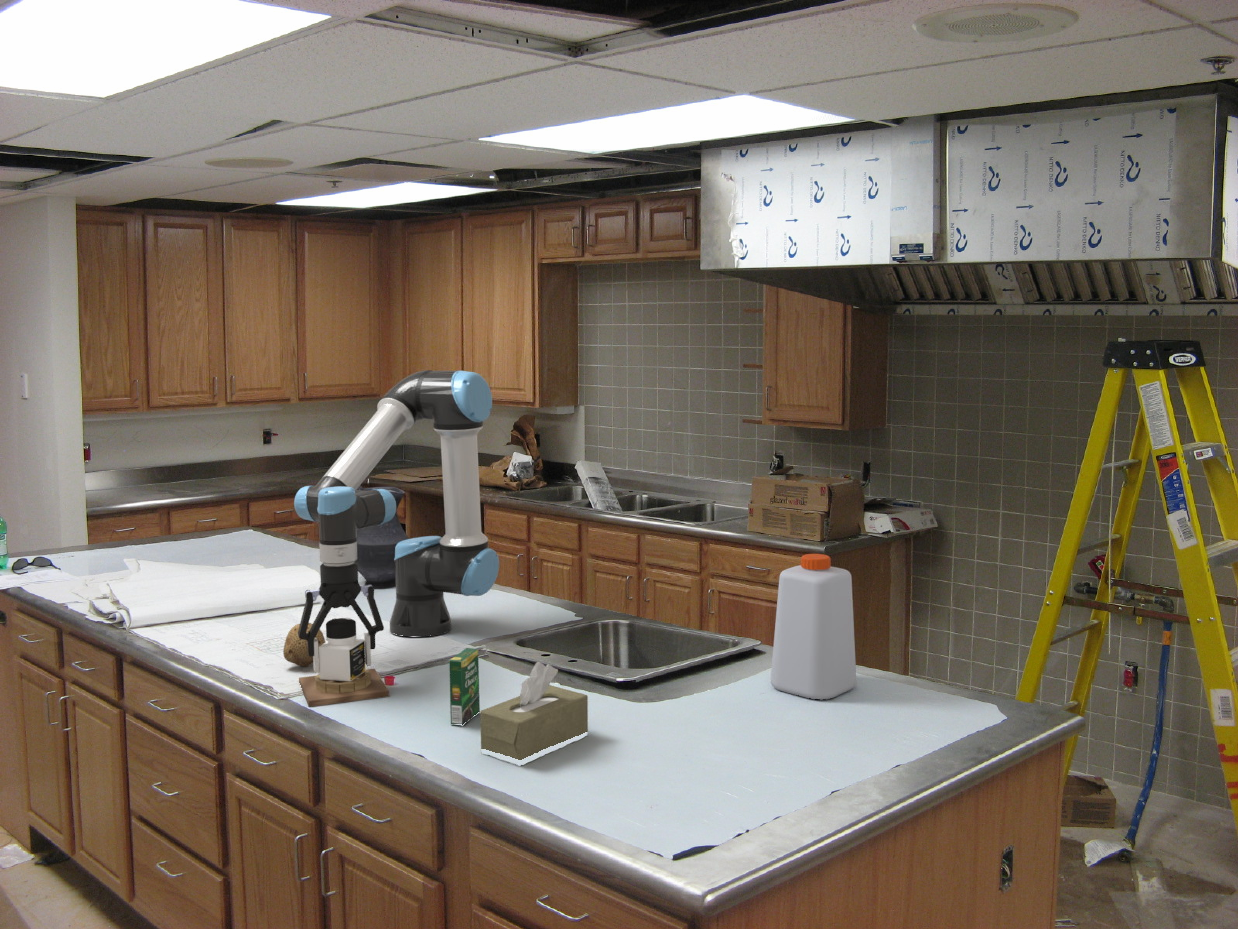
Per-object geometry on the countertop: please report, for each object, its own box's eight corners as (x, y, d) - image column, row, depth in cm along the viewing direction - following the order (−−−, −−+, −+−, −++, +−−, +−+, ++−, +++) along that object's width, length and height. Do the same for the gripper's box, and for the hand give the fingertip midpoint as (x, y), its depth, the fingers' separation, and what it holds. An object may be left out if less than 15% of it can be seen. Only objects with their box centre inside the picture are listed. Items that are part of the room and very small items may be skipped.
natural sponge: (336, 663, 249) (334, 620, 247) (309, 675, 241) (307, 630, 239) (304, 658, 252) (302, 616, 251) (277, 670, 244) (275, 625, 243)
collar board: (374, 673, 241) (374, 660, 241) (389, 696, 227) (388, 682, 226) (299, 683, 235) (298, 669, 235) (308, 707, 221) (308, 692, 220)
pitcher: (404, 592, 314) (401, 488, 311) (331, 592, 315) (327, 488, 311) (416, 578, 332) (413, 479, 328) (346, 578, 332) (343, 479, 328)
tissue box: (519, 768, 190) (517, 679, 188) (479, 754, 196) (477, 668, 194) (589, 736, 205) (589, 653, 203) (550, 724, 211) (549, 644, 209)
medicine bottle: (351, 682, 226) (349, 625, 225) (318, 680, 228) (316, 623, 226) (365, 671, 233) (364, 616, 232) (334, 669, 235) (332, 614, 233)
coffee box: (463, 727, 209) (461, 660, 208) (449, 726, 210) (447, 659, 208) (481, 713, 217) (479, 648, 215) (467, 712, 218) (466, 647, 216)
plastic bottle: (762, 688, 231) (764, 556, 228) (802, 671, 242) (805, 545, 239) (824, 705, 221) (827, 567, 218) (863, 686, 232) (867, 555, 229)
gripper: (284, 570, 220) (288, 679, 223) (397, 561, 228) (400, 666, 231) (280, 563, 227) (284, 669, 229) (390, 554, 235) (392, 656, 238)
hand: (342, 667), depth 230 cm, fingers open, 10 cm apart
